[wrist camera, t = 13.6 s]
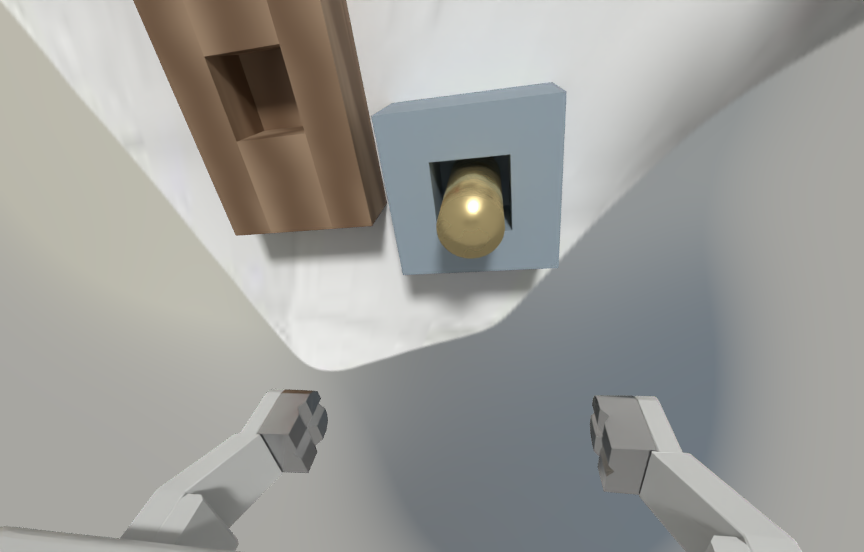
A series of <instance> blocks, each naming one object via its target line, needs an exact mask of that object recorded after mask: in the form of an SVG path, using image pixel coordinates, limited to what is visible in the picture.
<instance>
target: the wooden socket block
mask: <svg viewBox="0 0 864 552" xmlns="http://www.w3.org/2000/svg"><path fill="white" fill-rule="evenodd" d="M133 1H134V3H135V5H136V8H137V10H138V12H139V15H140V17H141V19H142V21H143V24H144V26H145V28H146V31H147V33H148V35H149V38H150V40H151V42H152V44H153V47H154V49H155V51H156V54H157V56H158V58H159V60H160V63H161V65H162V67H163V70H164V72H165V74H166V76H167V79H168V81H169V83H170V86H171V88H172V90H173V93H174V95H175V97H176V99H177V102H178V104H179V106H180V109H181V111H182V113H183V115H184V118H185V120H186V122H187V125H188V127H189V129H190V131H191V134H192V136H193V138H194V141H195V143H196V145H197V148H198V150H199V152H200V154H201V157H202V159H203V161H204V164H205V166H206V168H207V170H208V173H209V175H210V177H211V180H212V182H213V184H214V186H215V189H216V191H217V193H218V196H219V198H220V200H221V203H222V205H223V207H224V209H225V212H226V214H227V216H228V219H229V221H230V223H231V225H232V228H233V230H234V232H235V235H236V236H238V235H252V234H266V233H280V232H294V231H308V230H322V229H336V228H350V227H364V226H372V225H373V224H374V222H375V221H376V219H377V218H378V216H379V215H380V213H381V211H382V210H383V208H384V207H385V205H386V204H387V201H386V196H385V191H384V186H383V181H382V176H381V171H380V166H379V161H378V156H377V151H376V147H375V142H374V137H373V132H372V127H371V122H370V117H369V112H368V107H367V102H366V97H365V92H364V87H363V82H362V77H361V72H360V67H359V62H358V57H357V53H356V48H355V43H354V38H353V33H352V28H351V23H350V18H349V13H348V8H347V3H346V0H133Z"/></svg>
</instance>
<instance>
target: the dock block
mask: <svg viewBox="0 0 864 552" xmlns="http://www.w3.org/2000/svg"><path fill="white" fill-rule="evenodd" d="M565 112H566V91H565V90H563V89H562V88H560V87H559V86H557V85H556V84H554V83H553V82H551V83H543V84H535V85H528V86H520V87H513V88H505V89H497V90H490V91H482V92H474V93H467V94H459V95H451V96H444V97H436V98H429V99H421V100H413V101H406V102H398V103H392V104H390V105H388V106H387V107H385V108H384V109H382V110H380V111H379V112H377V113H376V114H374V115H372V116H371V117H372V122H373V127H374V132H375V137H376V142H377V147H378V152H379V157H380V162H381V167H382V172H383V177H384V182H385V187H386V192H387V197H388V202H389V207H390V212H391V217H392V222H393V227H394V232H395V237H396V242H397V247H398V252H399V257H400V262H401V267H402V272H403V275H414V274H435V273H457V272H479V271H501V270H522V269H544V268H558V266H559V244H560V222H561V200H562V178H563V156H564V134H565ZM489 156H491V157H493V158H494V159H495V161H496V162H497V164H498V166H499V169H500V175H501V187H502V198H503V209H504V220H505V232H504V236H503V239H502V241H501V243H500V244H499V246H498V247H497V248H496V249H495V250H494V251H493V252H491V253H490V254H488V255H486V256H483V257H480V258H473V259H468V258H462V257H459V256H456V255H454V254H452V253H451V252H449V251H448V250H447V249H446V248H445V247H444V246H443V245H442V244H441V242H440V240H439V238H438V235H437V230H436V224H437V219H438V215H439V212H440V208H441V205H442V201H443V198H444V194H445V191H446V187H447V183H448V180H449V176H450V173H451V169H452V167H453V165H454V163H455V161H456V160H459V159H469V158H479V157H489Z"/></svg>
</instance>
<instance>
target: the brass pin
mask: <svg viewBox="0 0 864 552" xmlns="http://www.w3.org/2000/svg"><path fill="white" fill-rule="evenodd" d="M436 230H437V235H438V238H439V240H440V242H441V244H442V245H443V246H444V247H445V248H446V249H447V250H448V251H449V252H451V253H452V254H454V255H456V256H459V257H462V258H468V259H473V258H480V257H483V256H486V255H488V254H490V253H491V252H493V251H494V250H495V249H496V248H497V247H498V246H499V244H500V243H501V241H502V239H503V236H504V232H505V220H504V209H503V198H502V187H501V175H500V169H499V166H498V164H497V162H496V161H495V159H494V158H493V157H491V156H489V157H479V158H469V159H459V160H456V161H455V163H454V165H453V167H452V169H451V173H450V176H449V180H448V183H447V187H446V191H445V194H444V198H443V201H442V205H441V208H440V212H439V215H438V219H437V224H436Z"/></svg>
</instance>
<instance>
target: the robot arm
mask: <svg viewBox="0 0 864 552" xmlns="http://www.w3.org/2000/svg"><path fill="white" fill-rule="evenodd" d="M320 399H321V398H320V396H319V394H318V392H317V391H307V390H283V389H271V390H269V391H268V392H266V394H265V395H264V397H263V399H262V400H261V402H260V403H259V405H258V406H257V408H256V409H255V411H254V412H253V414H252V415H251V417H250V418H249V420H248V422H247V423H246V425H245V426H244V428H243V429H242V431H241V433H239V434H238V433H235V434H234V435H233V436H231V437H230V438H228V439H227V440H226V441H224V442H223V443H221V444H220V445H219V446H218V447H216V448H214V449H213V450H212V451H210V452H209V453H207V454H206V455H204V456H203V457H202V458H200V459H199V460H197V461H196V462H195V463H194V464H192V465H190V466H189V467H188V468H186V469H185V470H183V471H182V472H181V473H179V474H178V475H176V476H175V477H174V478H172V479H171V480H169V481H168V482H167V483H165V484H164V485H163V486H161V487H160V488H158V489H157V490H156V491H155V492H154V494H153V495H152V497H151V498H150V499H149V500H148V502H147V503H146V504H145V506H144V507H143V508H142V510H141V511H140V512H139V514H138V515H137V516H136V518H135V519H134V521H133V522H132V523H131V524H130V526H129V527H128V529H127V530H126V531H125V533H124V534H123V535H122V536H121V538H120V539H119V538H110V537H100V536H91V535H82V534H73V533H63V532H54V531H46V530H37V529H28V528H20V527H8V526H4V527H0V552H238V551H235V550H236V548H237V546H238V539H237V538H236V537H235V535H234V534H233V533H232V532H231V531H230V529H229V528H230V526H231V525H232V524H233V523H234V522H235V521H236V520H237V519H238V518H239V517H240V516H241V515H242V514H243V513H244V512H245V511H246V510H247V509H248V508H249V507H250V506H251V505H252V504H253V503H254V502H255V501H256V500H257V499H258V498H259V497H260V496H261V495H262V494H263V493H264V492H265V491H266V490H267V489H268V488H269V487H270V486H271V485H272V484H273V483H274V482H275V481H276V480H277V479H278V478H279V477H280V476H281V475H282V472H295V473H296V472H297V473H309V470H310V467H311V465H312V463H313V461H314V458H315V456H316V454H317V450H316V446H315V445H316V444H318V443H319V442H320V441H321V440H322V439H323V438H324V435H325V432H326V429H327V423H328V417H327V412H326V410H325V408H324V407H322V406H321V405H320V404H319V401H320ZM592 406H593V410H594V413H593V414H592V415H591V419H590V434H591V440H592V445H593V449H594V452H595V453H596V454H597V455H598V456H599V462H598V470H599V474H600V478H601V482H602V486H603V490H604V492H616V493H626V494H637V495H640V498H641V499H642V500H643V501H644V503H645V504H646V505H647V506H648V507H649V509H650V510H651V511H652V512H653V513H654V514H655V516H656V517H657V518H658V519H659V520H660V522H661V523H662V524H663V525H664V526H665V527H666V529H667V530H668V531H669V532H670V533H671V535H672V536H673V537H674V538H675V539H676V540H677V542H678V543H679V544H680V545H681V546H682V547H683V549H684V550H685V551H686V552H802V551H801V549H800V547H799V545H798V544H797V542H796V540H794V539H793V538H792V537H791V536H790V535H788V534H787V533H786V532H785V531H784V530H782V529H781V528H780V527H779V526H777V525H776V524H775V523H774V522H773V521H771V520H770V519H769V518H768V517H767V516H765V515H764V514H763V513H762V512H760V511H759V510H758V509H757V508H756V507H754V506H753V505H752V504H751V503H750V502H748V501H747V500H746V499H745V498H743V497H742V496H741V495H740V494H739V493H737V492H736V491H735V490H734V489H732V488H731V487H730V486H729V485H728V484H726V483H725V482H724V481H723V480H722V479H720V478H719V477H718V476H717V475H715V474H714V473H713V472H712V471H710V470H709V469H708V468H707V467H706V466H705V465H703V464H702V463H701V462H700V461H698V460H697V459H696V458H695V457H694V456H692V455H691V454H690V453H683V452H682V450H681V448H680V445H679V443H678V441H677V439H676V437H675V435H674V432H673V430H672V428H671V426H670V424H669V422H668V419H667V417H666V415H665V413H664V411H663V409H662V407H661V405H660V402H659V400H658V399H657V398H656V397H654V396H603V395H600V396H599V395H595V396H594V398H593V402H592Z"/></svg>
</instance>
